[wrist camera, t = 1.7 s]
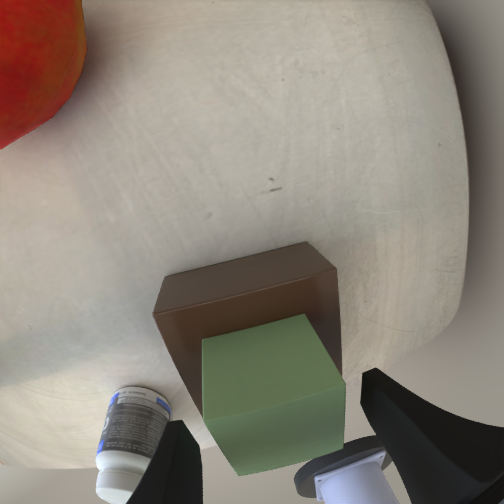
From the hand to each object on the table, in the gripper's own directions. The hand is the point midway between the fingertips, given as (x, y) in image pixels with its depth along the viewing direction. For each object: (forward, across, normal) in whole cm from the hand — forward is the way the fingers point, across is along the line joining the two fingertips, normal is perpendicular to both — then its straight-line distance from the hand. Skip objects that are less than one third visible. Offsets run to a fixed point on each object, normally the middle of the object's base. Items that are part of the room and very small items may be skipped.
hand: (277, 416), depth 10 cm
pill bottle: (+8, +10, +6) cm, 13 cm away
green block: (+3, 0, 0) cm, 3 cm away
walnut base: (+7, 0, 0) cm, 7 cm away
